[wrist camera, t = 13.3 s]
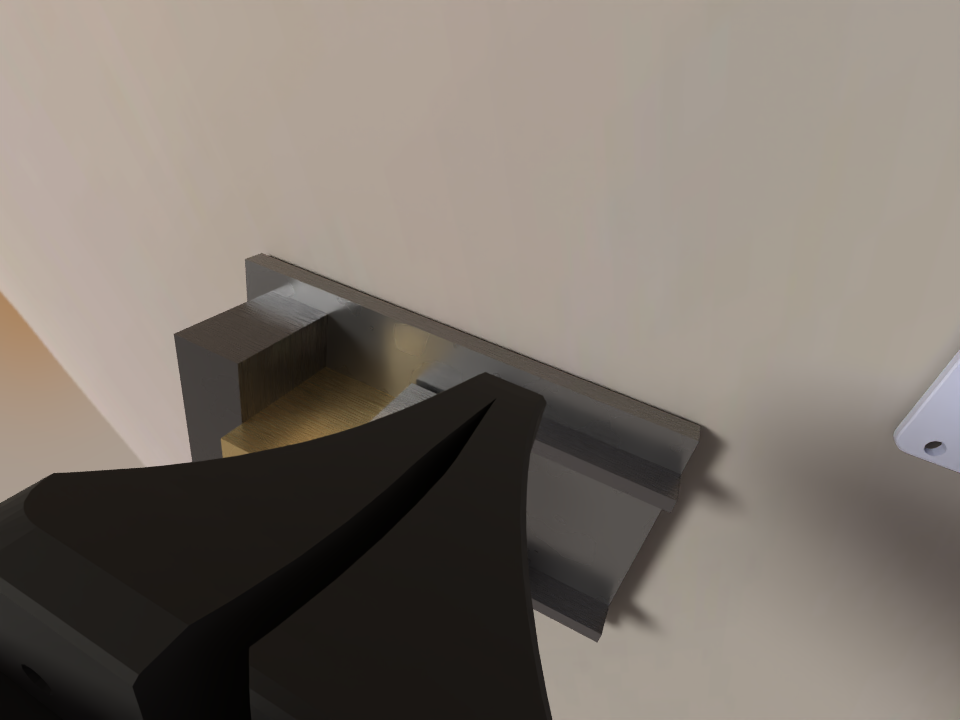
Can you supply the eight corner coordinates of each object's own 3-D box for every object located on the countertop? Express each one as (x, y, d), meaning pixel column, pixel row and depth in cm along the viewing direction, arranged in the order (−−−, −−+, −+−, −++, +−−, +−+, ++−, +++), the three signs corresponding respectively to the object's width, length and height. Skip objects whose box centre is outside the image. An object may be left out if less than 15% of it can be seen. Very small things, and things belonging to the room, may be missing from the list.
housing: (410, 404, 23) (321, 492, 18) (399, 477, 25) (317, 572, 20) (326, 366, 24) (219, 439, 19) (323, 439, 26) (228, 521, 21)
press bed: (700, 426, 19) (687, 545, 14) (598, 615, 25) (564, 742, 20) (261, 253, 24) (139, 295, 19) (269, 447, 30) (178, 516, 25)
